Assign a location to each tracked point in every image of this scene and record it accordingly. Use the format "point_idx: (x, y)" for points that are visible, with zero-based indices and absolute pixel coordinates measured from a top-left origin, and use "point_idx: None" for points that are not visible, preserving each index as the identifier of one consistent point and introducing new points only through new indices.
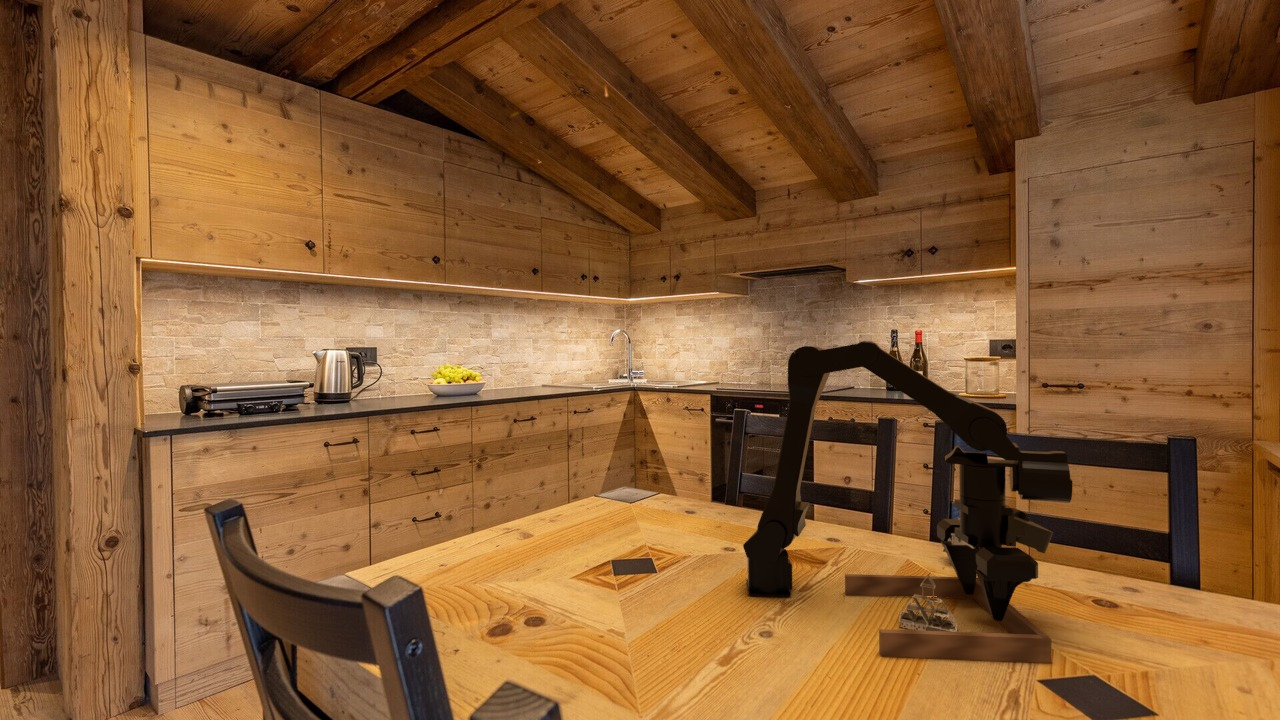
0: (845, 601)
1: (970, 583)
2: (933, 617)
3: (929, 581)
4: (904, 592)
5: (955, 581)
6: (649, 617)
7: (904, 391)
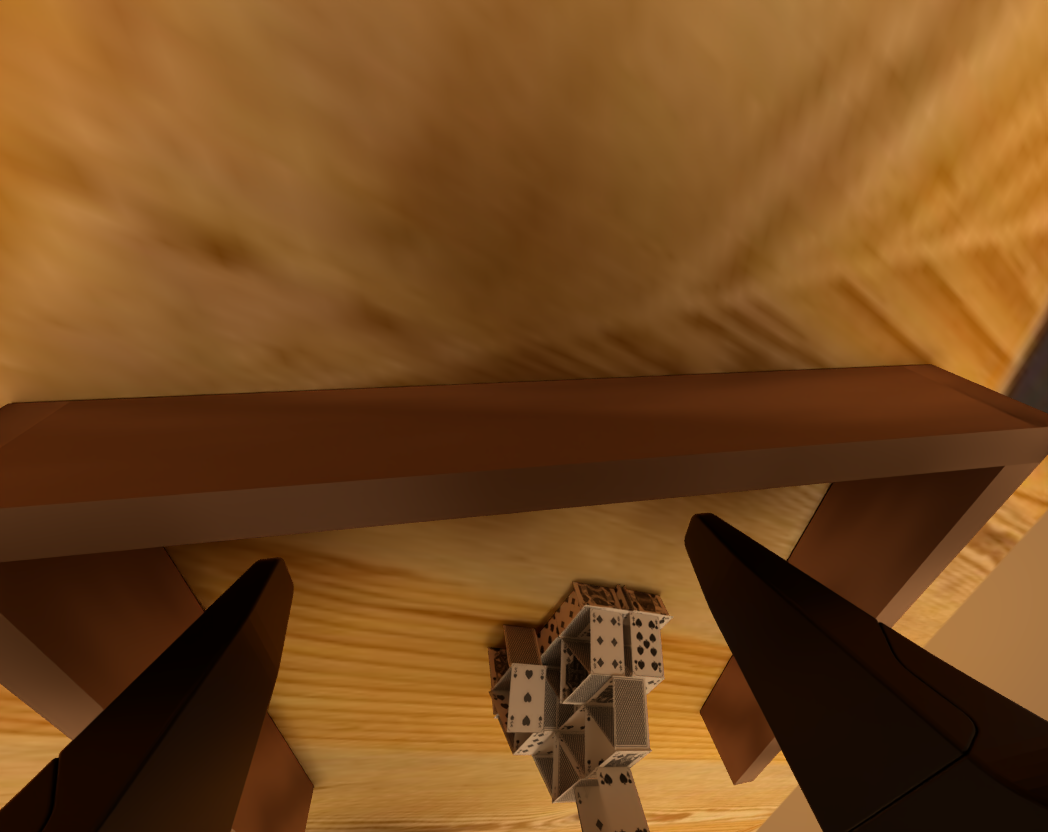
0: (372, 779)
1: (255, 649)
2: (543, 658)
3: None
4: None
5: (73, 645)
6: None
7: None
